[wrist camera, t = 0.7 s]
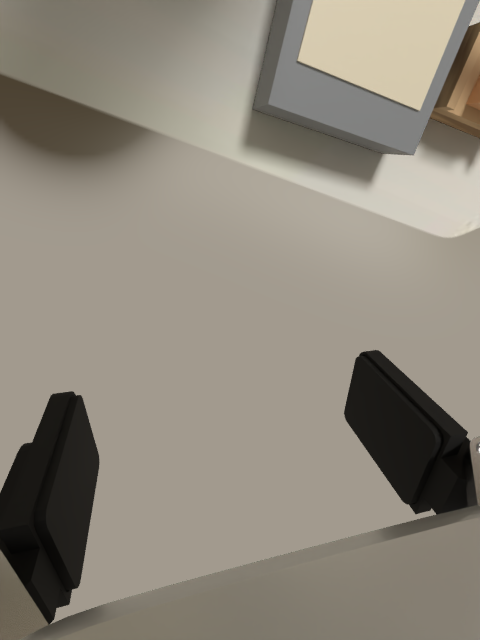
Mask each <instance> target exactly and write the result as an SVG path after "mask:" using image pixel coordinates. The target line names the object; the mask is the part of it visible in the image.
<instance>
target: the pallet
mask: <svg viewBox="0 0 480 640" xmlns="http://www.w3.org/2000/svg"><path fill="white" fill-rule="evenodd" d="M479 74H480V23H477V24H474V25H471V26H469V27H468V29H467V31H466V33H465V36H464V38H463V40H462V43H461V45H460V47H459V50H458V52H457V54H456V57H455V59H454V62H453V64H452V66H451V69H450V71H449V73H448V76H447V78H446V80H445V83H444V85H443V87H442V90H441V92H440V94H439V97H438V99H437V101H436V104H435V106H434V108H433V111H432V113H431V116H430V118H431V119H434V120H436V121H439V122H441V123H444V124H446V125H449V126H451V127H454V128H456V129H459V130H461V131H463V132H466V133H468V134H471V135H473V136H476V137H478V138H480V110H478V109H476V108H473V107H471V106H469V105H467V104H466V103H467V101H468V98H469V96H470V94H471V92H472V90H473V88H474V85H475V83H476V81H477V79H478V77H479Z"/></svg>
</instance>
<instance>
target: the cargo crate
mask: <svg viewBox="0 0 480 640" xmlns="http://www.w3.org/2000/svg"><path fill="white" fill-rule="evenodd" d="M466 104H467V105H469V106H471V107H473V108H476V109H478V110H480V74H479V77H478V79H477V81H476V83H475V85H474V88H473V90H472V92H471V94H470V96H469V98H468V101H467V103H466Z"/></svg>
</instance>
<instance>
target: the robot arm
mask: <svg viewBox="0 0 480 640" xmlns="http://www.w3.org/2000/svg"><path fill="white" fill-rule="evenodd" d="M344 414H345V418H346V421H347V422H348V424H349V425H350V427H351V428H352V429H353V431H354V432H355V434H356V435H357V437H358V438H359V439H360V441H361V442H362V444H363V445H364V447H365V448H366V450H367V451H368V452H369V454H370V455H371V457H372V458H373V460H374V461H375V462H376V464H377V465H378V467H379V468H380V470H381V471H382V472H383V474H384V475H385V477H386V478H387V480H388V481H389V482H390V484H391V485H392V487H393V488H394V490H395V491H396V492H397V494H398V495H399V497H400V498H401V500H402V501H403V502H404V503H406V504H409V505H410V507H411V508H412V509H413V511H414V512H415V514H418V513H422V512H426V511H430V510H431V508H432V509H433V510H434V512H435V513H436V514H437V515H433V516H429V517H425V518H421V519H417V520H414V521H410V522H406V523H402V524H399V525H394V526H390V527H386V528H383V529H379V530H375V531H371V532H368V533H363V534H360V535H356V536H352V537H348V538H344V539H340V540H337V541H333V542H329V543H325V544H322V545H318V546H314V547H310V548H307V549H303V550H299V551H295V552H291V553H288V554H284V555H280V556H276V557H273V558H269V559H265V560H261V561H257V562H254V563H250V564H246V565H243V566H239V567H235V568H232V569H228V570H224V571H221V572H217V573H213V574H210V575H206V576H202V577H198V578H195V579H191V580H187V581H184V582H180V583H176V584H173V585H169V586H166V587H162V588H159V589H155V590H152V591H148V592H145V593H141V594H138V595H135V596H131V597H128V598H124V599H121V600H117V601H114V602H110V603H107V604H104V605H101V606H98V607H95V608H92V609H89V610H86V611H83V612H80V613H77V614H75V615H71V616H68V617H66V618H64V619H62V620H59V621H57V622H55V623H52V624H50V623H51V622H52V621H53V620H54V617H55V612H56V608H58V607H62V606H66V605H69V603H70V598H71V592H72V589H75V588H78V586H79V584H80V580H81V574H82V568H83V562H84V556H85V550H86V544H87V537H88V531H89V525H90V519H91V513H92V507H93V501H94V494H95V488H96V482H97V476H98V470H99V454H98V451H97V447H96V444H95V440H94V437H93V433H92V430H91V426H90V423H89V419H88V416H87V412H86V409H85V405H84V402H83V398H82V396H81V395H77V396H76V395H75V394H74V392H64V393H57V394H52V395H51V397H50V399H49V402H48V404H47V407H46V409H45V412H44V414H43V417H42V419H41V422H40V424H39V427H38V429H37V432H36V434H35V437H34V439H33V442H32V443H26V444H23V446H21V448H20V449H19V451H18V453H17V455H16V458H15V460H14V463H13V465H12V467H11V469H10V472H9V474H8V476H7V479H6V481H5V483H4V486H3V488H2V490H1V493H0V640H480V437H476V438H474V439H473V440H472V441H469V439H468V438H467V437H466V436H467V433H468V432H467V431H466V430H465V429H463V427H461V426H460V425H459V424H458V423H457V422H456V421H455V420H454V419H453V418H451V416H450V415H448V414H447V413H446V412H445V411H444V410H443V409H442V408H441V407H440V406H439V405H437V404H436V403H435V402H434V401H433V400H432V399H431V398H430V397H429V396H428V395H427V394H426V393H424V392H423V391H422V390H421V389H420V388H419V387H418V386H417V385H416V384H415V383H414V382H413V381H411V380H410V379H409V378H408V377H407V376H406V375H405V374H404V373H403V372H402V371H400V370H399V369H398V368H397V367H396V366H395V365H394V364H393V363H392V362H391V361H389V359H387V358H386V357H385V356H384V355H383V354H382V353H381V352H380V351H378V350H374V351H366V352H362V353H361V354H360V355H359V357H357V358H356V360H355V365H354V370H353V374H352V379H351V383H350V388H349V392H348V397H347V401H346V406H345V411H344ZM49 624H50V625H49Z"/></svg>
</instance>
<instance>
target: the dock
mask: <svg viewBox="0 0 480 640" xmlns="http://www.w3.org/2000/svg"><path fill="white" fill-rule="evenodd" d="M478 3H479V0H277V4H276V8H275V13H274V17H273V21H272V26H271V30H270V35H269V39H268V43H267V48H266V52H265V57H264V61H263V66H262V70H261V74H260V79H259V83H258V88H257V92H256V97H255V101H254V105H253V110H256V111H259V112H262V113H265V114H268V115H271V116H274V117H277V118H280V119H283V120H286V121H289V122H292V123H294V124H297V125H300V126H303V127H306V128H309V129H312V130H315V131H318V132H321V133H324V134H327V135H330V136H333V137H336V138H339V139H341V140H344V141H347V142H350V143H353V144H356V145H359V146H362V147H365V148H368V149H371V150H374V151H377V152H380V153H383V154H398V155H414V153H415V151H416V148H417V146H418V144H419V141H420V139H421V137H422V134H423V132H424V130H425V127H426V125H427V123H428V120H429V118H430V116H431V113H432V111H433V108H434V106H435V104H436V101H437V99H438V97H439V94H440V92H441V90H442V87H443V85H444V83H445V80H446V78H447V76H448V73H449V71H450V69H451V66H452V64H453V62H454V59H455V57H456V54H457V52H458V50H459V47H460V45H461V43H462V40H463V38H464V36H465V33H466V31H467V29H468V26H469V24H470V22H471V19H472V17H473V15H474V12H475V10H476V7H477V5H478Z"/></svg>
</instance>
